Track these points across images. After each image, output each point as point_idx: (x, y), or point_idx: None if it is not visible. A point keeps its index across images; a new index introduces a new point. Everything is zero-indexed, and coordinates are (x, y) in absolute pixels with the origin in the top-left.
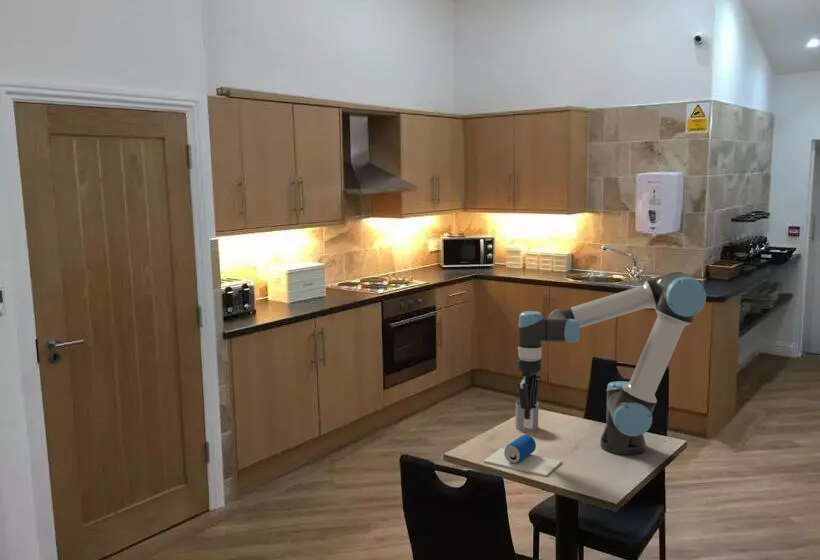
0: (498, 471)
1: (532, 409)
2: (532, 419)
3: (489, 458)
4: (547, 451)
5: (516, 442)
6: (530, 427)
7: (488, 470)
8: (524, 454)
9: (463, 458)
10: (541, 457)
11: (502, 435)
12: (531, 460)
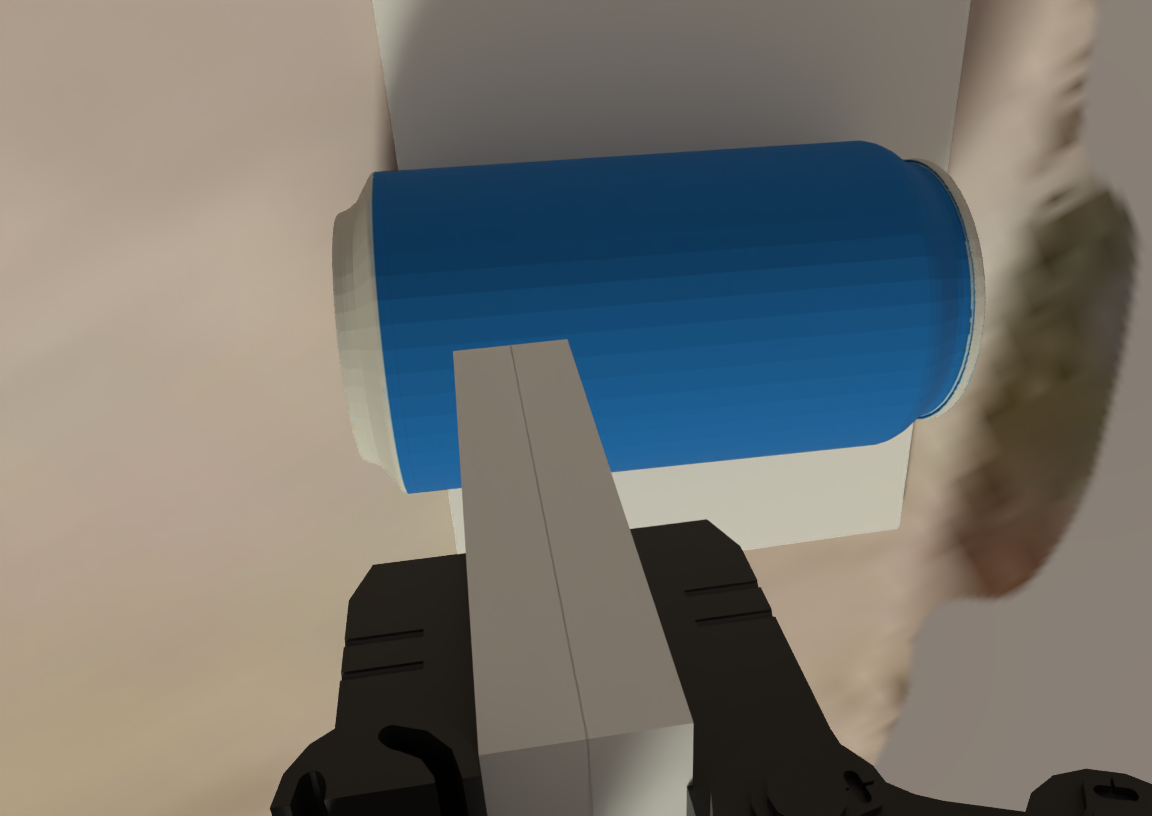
0: (1063, 272)
1: (576, 729)
2: (514, 465)
3: (818, 517)
4: (50, 87)
5: (845, 361)
6: (574, 367)
7: (1073, 370)
8: (810, 148)
9: (882, 687)
10: (404, 13)
11: (67, 777)
12: (608, 85)
